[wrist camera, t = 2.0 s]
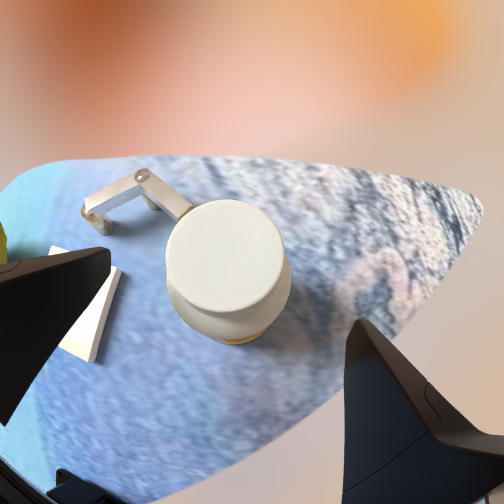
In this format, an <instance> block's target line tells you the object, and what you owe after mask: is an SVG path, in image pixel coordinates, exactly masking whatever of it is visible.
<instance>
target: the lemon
mask: <svg viewBox="0 0 504 504" xmlns="http://www.w3.org/2000/svg"><path fill="white" fill-rule="evenodd" d="M6 243H7V237H6V235H5V233H4V229H3V227H2V224H1V222H0V264H4V263H7V249H6Z"/></svg>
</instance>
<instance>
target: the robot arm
mask: <svg viewBox="0 0 504 504" xmlns="http://www.w3.org/2000/svg"><path fill="white" fill-rule="evenodd" d="M110 273H111V252H110V250H109V249H107V248H104V247H95V248H88V249H82V250H76V251H70V252H65V253H59V254H53V255H48V256H42V257H36V258H31V259H26V260H22V261H21V260H20V261H15V262H9V263H4V264H0V423H1V424H2V425H3V426H4V427H5V426H6V425H7V423H8V421H9V420H10V418H11V416H12V414H13V413H14V411H15V409H16V408H17V406H18V404H19V403H20V401H21V400H22V398H23V396H24V395H25V393H26V392H27V390H28V388H29V387H30V385H31V383H32V382H33V381H34V379H35V378H36V376H37V375H38V373H39V372H40V370H41V369H42V367H43V366H44V364H45V363H46V361H47V360H48V359H49V357H50V356H51V354H52V353H53V352H54V350H55V349H56V348H57V346H58V345H59V343H60V342H61V341H62V339H63V338H64V337H65V335H66V334H67V333H68V331H69V330H70V329H71V328H72V326H73V325H74V324H75V322H76V321H77V320H78V319H79V317H80V316H81V315H82V314H83V312H84V311H85V310H86V309H87V307H88V306H89V305H90V303H91V302H92V301H93V299H94V298H95V296H96V295H97V293H98V292H99V290H100V289H101V287H102V286H103V284H104V283H105V281H106V280H107V279H108V277H109V276H110ZM344 406H345V445H344V477H343V494H342V503H341V504H504V436H502V435H490V434H486V433H484V432H482V431H480V430H478V429H477V428H476V427H475V426H474V425H473V424H472V423H470V422H469V421H468V420H467V419H466V418H465V417H464V416H463V415H462V414H461V413H460V412H459V411H458V410H457V409H455V408H454V407H453V406H452V405H451V404H450V403H449V402H448V401H447V400H446V399H445V398H444V397H443V396H442V395H441V394H440V393H439V392H438V391H437V390H436V389H435V388H434V387H433V386H432V385H431V384H430V382H427V379H426V378H425V377H424V376H423V375H422V374H421V373H420V372H419V371H418V370H417V369H416V368H415V367H414V366H413V365H412V364H411V363H410V362H409V361H408V360H407V359H406V358H405V357H404V355H403V354H402V353H401V352H400V351H399V350H398V349H397V348H396V347H395V346H394V345H393V344H392V343H391V342H390V341H389V340H388V339H387V338H386V337H385V336H384V335H383V334H382V333H381V332H380V331H379V330H378V329H377V328H376V327H375V326H374V325H373V324H372V323H371V322H370V321H368V320H365V319H360V318H359V319H357V320H356V321H355V323H354V325H353V327H352V329H351V331H350V333H349V335H348V337H347V340H346V352H345V368H344ZM62 474H63V475H62ZM0 504H125V503H123V502H121V501H119V500H117V499H115V498H113V497H111V496H109V495H107V494H105V493H103V492H101V491H99V490H97V489H96V488H94V487H92V486H90V485H88V484H87V483H85V482H83V481H82V480H80V479H78V478H77V477H75V476H73V475H72V474H70V473H69V472H67V471H66V470H64V469H62V468H60V469H58V470H57V471H56V487H55V488H53V489H51V490H49V491H47V493H46V494H44V493H43V492H41V491H40V490H39V489H38V488H36V487H35V486H34V485H33V484H31V483H30V482H29V481H28V480H27V479H25V478H24V477H23V476H22V475H21V474H20V473H18V472H17V471H16V470H15V469H14V468H13V467H12V466H11V465H10V464H9V463H8V462H7V461H6V460H5V459H3V458H2V457H1V456H0Z"/></svg>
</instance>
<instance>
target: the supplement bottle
mask: <svg viewBox="0 0 504 504" xmlns="http://www.w3.org/2000/svg"><path fill="white" fill-rule="evenodd" d="M166 267H167V289H168V294H169V297H170V300H171V302H172V305H173V307H174V308H175V310H176V312H177V313H178V315H179V316H180V317H181V318H182V319H183V321H184V322H186V323H187V324H188V325H189V326H190V327H191V328H193V329H194V330H196V331H198V332H199V333H201V334H203V335H205V336H207V337H209V338H211V339H213V340H215V341H218V342H221V343H225V344H242V343H246V342H248V341H251V340H253V339H255V338H256V337H258V336H259V335H261V334H262V333H263V332H264V331H265V330H266V329H267V328H268V327H269V326H270V324H271V323H272V322H273V321H274V320H275V319H276V318H277V317H278V315H279V314H280V313H281V311H282V310H283V308H284V306H285V304H286V302H287V299H288V297H289V293H290V289H291V268H290V263H289V260H288V257H287V255H286V252H285V249H284V244H283V239H282V237H281V234H280V231H279V229H278V228H277V226H276V225H275V223H274V222H273V221H272V220H271V218H270V217H269V216H268V215H267V214H266V213H264V212H263V211H262V210H260V209H258V208H257V207H255V206H253V205H251V204H248V203H245V202H242V201H237V200H216V201H212V202H208V203H206V204H203V205H200V206H198V207H196V208H194V209H193V210H191V211H190V212H189V213H187V214H186V215H185V216H184V217H183V218H182V219H181V220H180V221H179V222H178V224H177V225H176V227H175V228H174V230H173V231H172V233H171V235H170V238H169V241H168V244H167V248H166Z"/></svg>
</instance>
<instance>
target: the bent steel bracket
mask: <svg viewBox="0 0 504 504" xmlns="http://www.w3.org/2000/svg"><path fill="white" fill-rule="evenodd" d="M140 195H142V196H143V198H144V200H145V201H146V203H147V205H148V207H149V208H150V209H152V210H158V209H160V208H161V209H162V210H163V211H165V212H166V213H167V214H168V215H169V216H170V217H171V218H173V219H174V220H175V221H176V222H177V223H178V222H179V221H180V220H181V219H182V218H183V217H184V216H185V215H186V214H187V213H189V212H190V211H191V210H193V209H194V207H193V205H192V204H191V203H190V202H188V201H187V200H186V199H185V198H183V197H182V196H181V195H180V194H178V193H177V192H176V191H175V190H173V189H172V188H171V187H170V186H169V185H167V184H166V183H165V182H164V181H162V180H161V179H160V178H159V177H157V176H156V175H155V174H154V173H152V172H151V171H150V170H149V169H146V168H144V169H140V170H138V171H136V172H134V173H132V174H130V175H128V176H126V177H124V178H122V179H120V180H118V181H116V182H114V183H112V184H110V185H108V186H106V187H104V188H102V189H100V190H99V191H97V192H95V193H93V194H91V195H89V196H88V197H86V198H84V200H85V204H84V205H83V207H82V209H81V215H82V216H83V217H84V218H85V219H86V220H87V221H88V222H89V223H90V224H91V225H92V226H93V227H94V228H95V229H96V230H97V231H98V232H99V233H100V234H101V235H107V234H109V233H110V232H111V231H112V229H113V222H112V221H111V219H110V218H109V217H108V216H107V215H106V214H105V213H107V212H108V211H110V210H112V209H114V208H116V207H118V206H120V205H122V204H124V203H126V202H128V201H130V200H132V199H134V198H136V197H138V196H140Z"/></svg>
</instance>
